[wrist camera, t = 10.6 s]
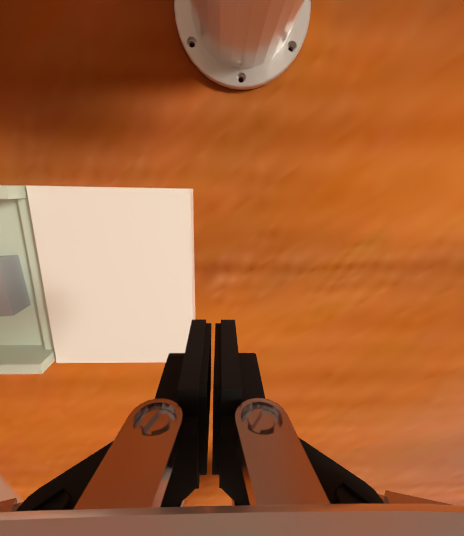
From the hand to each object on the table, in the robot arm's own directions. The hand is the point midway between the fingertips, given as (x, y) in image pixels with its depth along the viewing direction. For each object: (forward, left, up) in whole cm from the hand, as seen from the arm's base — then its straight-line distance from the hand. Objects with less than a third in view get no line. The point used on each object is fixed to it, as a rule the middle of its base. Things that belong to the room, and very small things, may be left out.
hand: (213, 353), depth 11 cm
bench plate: (+4, -11, -23) cm, 26 cm away
